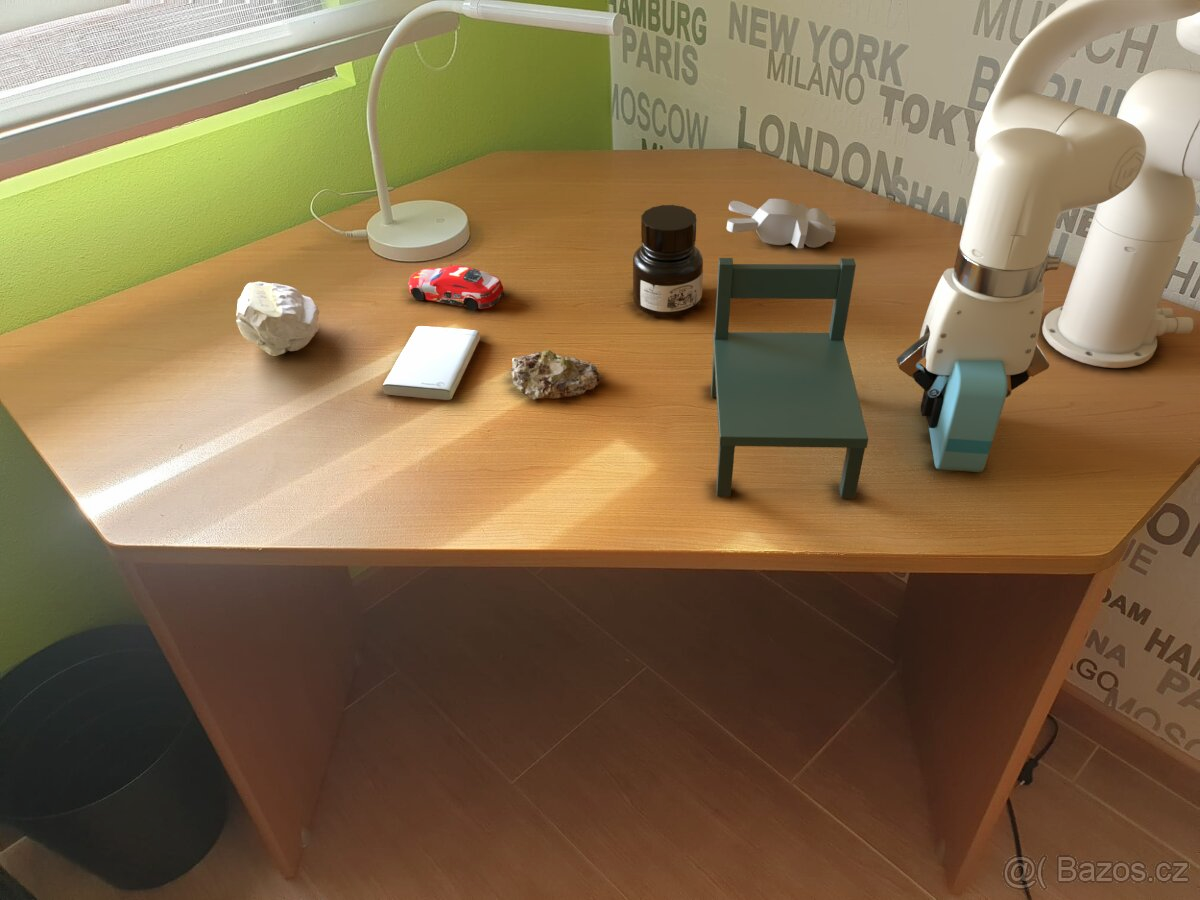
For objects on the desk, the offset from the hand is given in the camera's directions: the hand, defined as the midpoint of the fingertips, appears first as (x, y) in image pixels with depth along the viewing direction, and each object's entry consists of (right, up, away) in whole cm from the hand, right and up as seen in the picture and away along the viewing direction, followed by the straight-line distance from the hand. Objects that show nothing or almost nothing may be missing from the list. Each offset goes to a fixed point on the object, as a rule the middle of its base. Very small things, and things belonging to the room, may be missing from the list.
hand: (957, 418), depth 100 cm
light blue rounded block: (0, -2, +2) cm, 3 cm away
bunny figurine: (-12, +27, +37) cm, 47 cm away
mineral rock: (-43, +4, +12) cm, 45 cm away
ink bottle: (-29, +16, +25) cm, 41 cm away
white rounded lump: (-77, +10, +20) cm, 80 cm away
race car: (-57, +17, +27) cm, 65 cm away
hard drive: (-58, +7, +15) cm, 60 cm away
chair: (-18, -2, +3) cm, 19 cm away
